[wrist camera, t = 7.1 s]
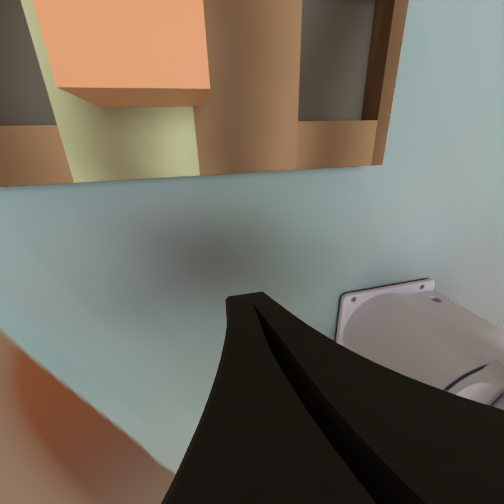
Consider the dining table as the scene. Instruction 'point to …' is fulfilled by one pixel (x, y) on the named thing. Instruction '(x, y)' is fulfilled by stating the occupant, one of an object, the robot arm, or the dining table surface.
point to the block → (127, 50)
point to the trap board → (214, 98)
